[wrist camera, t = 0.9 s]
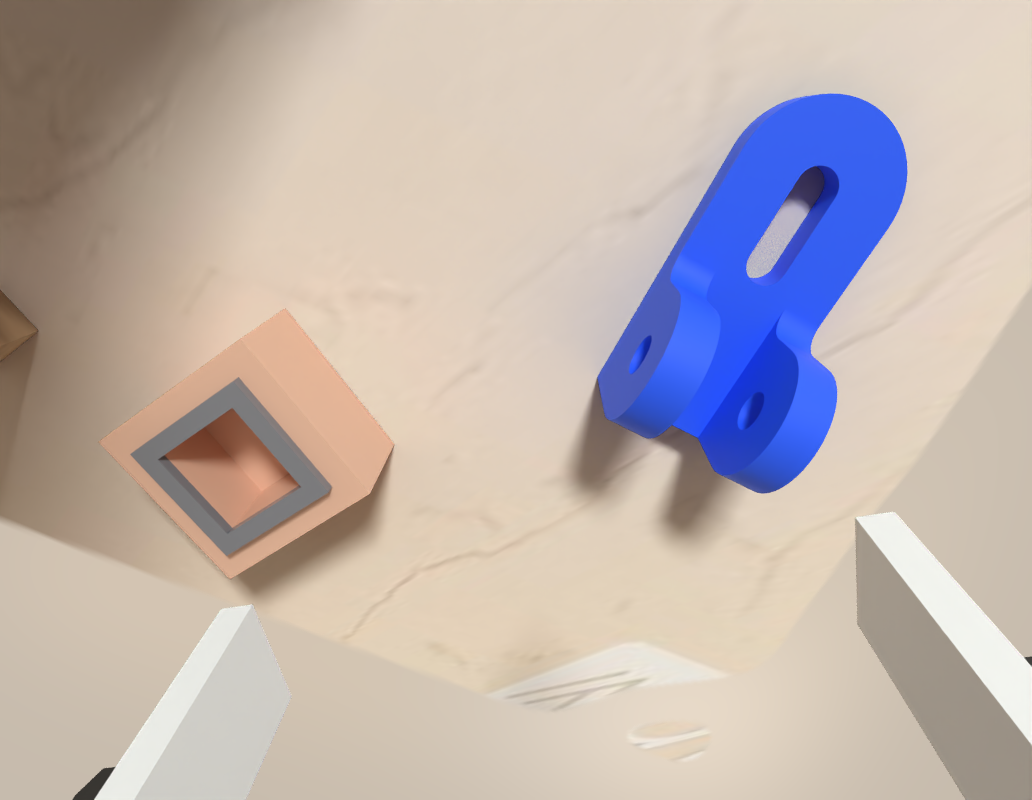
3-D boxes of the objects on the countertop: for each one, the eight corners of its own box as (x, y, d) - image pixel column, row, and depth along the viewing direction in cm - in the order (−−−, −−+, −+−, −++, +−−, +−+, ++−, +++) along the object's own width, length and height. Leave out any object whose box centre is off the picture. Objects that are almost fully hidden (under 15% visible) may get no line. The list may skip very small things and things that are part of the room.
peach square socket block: (160, 399, 41) (90, 446, 34) (285, 308, 38) (234, 342, 32) (271, 521, 43) (225, 586, 37) (394, 444, 41) (367, 499, 35)
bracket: (721, 438, 40) (766, 519, 32) (597, 376, 39) (610, 443, 31) (922, 146, 34) (1044, 152, 26) (781, 63, 33) (860, 40, 24)
